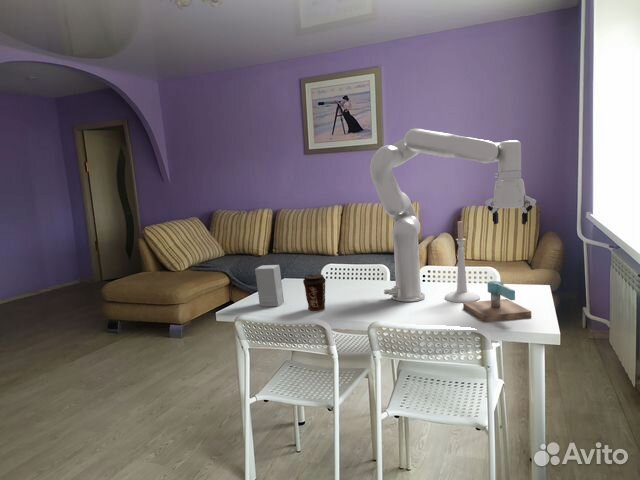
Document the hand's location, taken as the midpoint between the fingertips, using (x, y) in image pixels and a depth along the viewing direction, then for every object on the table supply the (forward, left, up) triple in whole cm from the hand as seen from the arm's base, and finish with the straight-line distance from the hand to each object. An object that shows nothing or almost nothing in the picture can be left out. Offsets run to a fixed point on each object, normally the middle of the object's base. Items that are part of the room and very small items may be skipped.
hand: (509, 223), depth 166 cm
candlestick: (-15, +8, -28) cm, 33 cm away
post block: (-12, -13, -28) cm, 33 cm away
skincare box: (-88, +23, -28) cm, 95 cm away
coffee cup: (-71, +10, -28) cm, 77 cm away
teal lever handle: (-12, -17, -21) cm, 30 cm away
